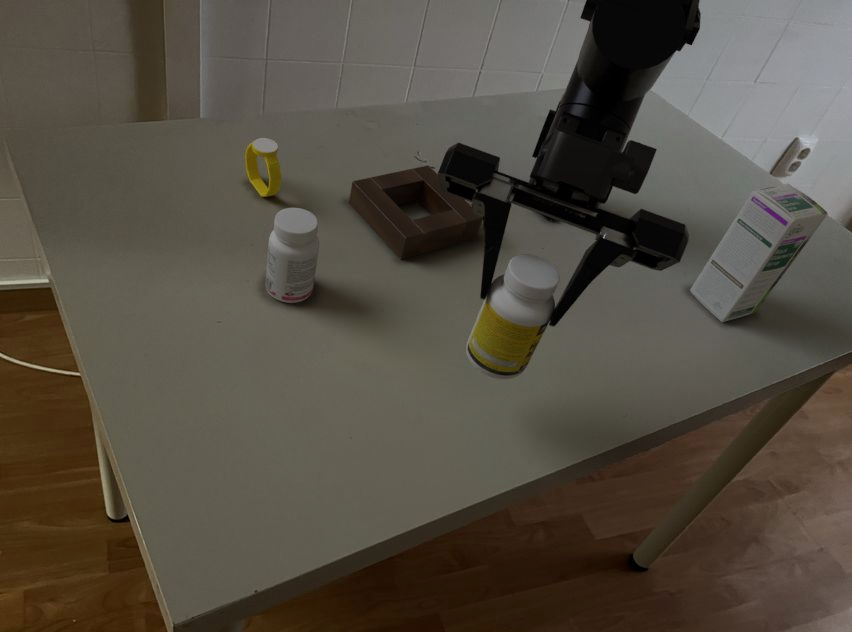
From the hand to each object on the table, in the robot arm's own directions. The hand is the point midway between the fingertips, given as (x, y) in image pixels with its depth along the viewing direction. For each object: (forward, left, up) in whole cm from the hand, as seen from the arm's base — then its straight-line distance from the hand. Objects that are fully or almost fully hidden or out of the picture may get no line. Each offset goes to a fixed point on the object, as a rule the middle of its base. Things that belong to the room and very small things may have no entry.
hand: (516, 312), depth 55 cm
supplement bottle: (-1, -1, -7) cm, 7 cm away
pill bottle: (+7, -21, -13) cm, 26 cm away
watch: (+2, -37, -13) cm, 40 cm away
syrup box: (-39, 0, -13) cm, 41 cm away
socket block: (-12, -26, -13) cm, 32 cm away
